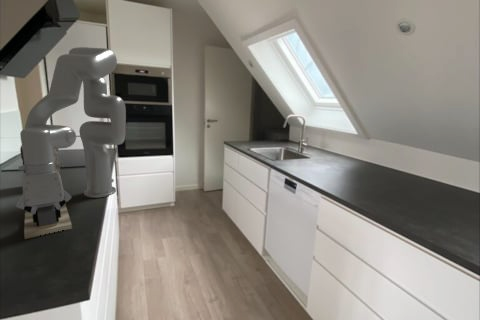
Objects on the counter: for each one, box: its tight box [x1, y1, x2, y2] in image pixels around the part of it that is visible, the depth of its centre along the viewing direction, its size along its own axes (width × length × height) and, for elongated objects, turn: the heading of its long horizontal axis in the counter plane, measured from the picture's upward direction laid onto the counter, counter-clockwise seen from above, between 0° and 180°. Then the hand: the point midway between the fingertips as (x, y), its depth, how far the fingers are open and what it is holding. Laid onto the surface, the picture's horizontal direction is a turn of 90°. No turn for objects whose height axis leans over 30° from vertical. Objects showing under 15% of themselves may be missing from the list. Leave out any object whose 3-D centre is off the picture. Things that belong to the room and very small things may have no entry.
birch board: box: [23, 203, 73, 240], centre depth 92 cm, size 24×12×2 cm, turn 38°
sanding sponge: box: [37, 203, 57, 229], centre depth 86 cm, size 8×4×5 cm, turn 37°
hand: (47, 221), depth 86 cm, fingers closed on sanding sponge, 4 cm apart
